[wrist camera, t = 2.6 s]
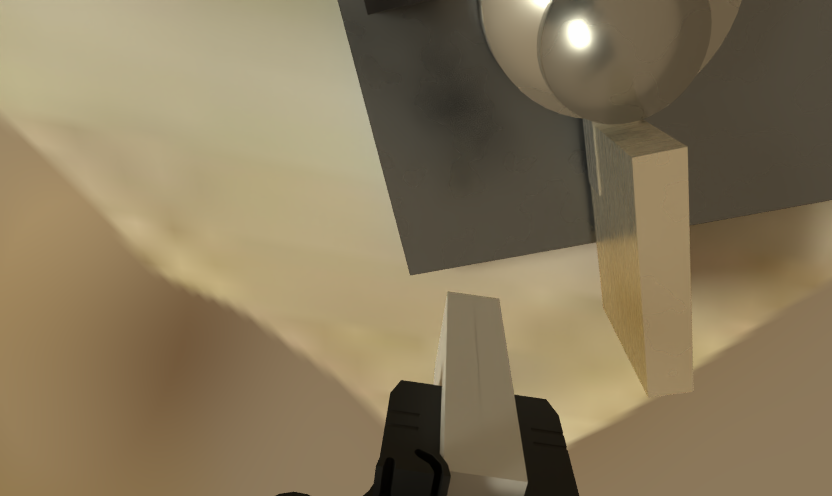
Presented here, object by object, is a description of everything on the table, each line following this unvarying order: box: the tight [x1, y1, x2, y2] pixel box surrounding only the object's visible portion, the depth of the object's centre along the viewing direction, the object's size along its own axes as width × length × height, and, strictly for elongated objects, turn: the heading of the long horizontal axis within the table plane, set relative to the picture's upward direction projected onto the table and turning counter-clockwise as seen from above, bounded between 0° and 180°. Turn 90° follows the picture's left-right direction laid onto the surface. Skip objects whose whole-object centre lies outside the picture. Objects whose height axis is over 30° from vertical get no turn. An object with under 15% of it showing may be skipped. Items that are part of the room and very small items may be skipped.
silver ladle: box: [478, 0, 742, 398], centre depth 18 cm, size 17×8×6 cm, turn 13°
